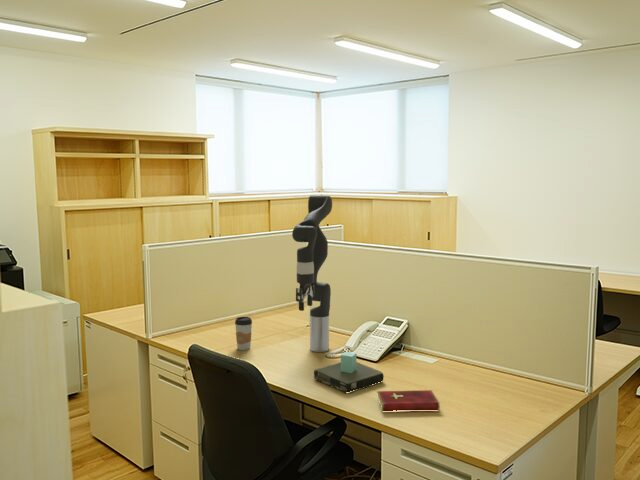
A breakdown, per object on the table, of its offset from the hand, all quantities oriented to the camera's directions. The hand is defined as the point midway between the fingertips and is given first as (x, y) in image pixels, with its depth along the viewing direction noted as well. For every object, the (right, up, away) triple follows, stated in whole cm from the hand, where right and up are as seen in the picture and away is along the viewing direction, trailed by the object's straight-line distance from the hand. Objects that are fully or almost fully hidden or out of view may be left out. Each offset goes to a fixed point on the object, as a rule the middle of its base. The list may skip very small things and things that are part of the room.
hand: (305, 308), depth 252 cm
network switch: (+18, -30, -11) cm, 37 cm away
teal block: (+18, -25, -12) cm, 33 cm away
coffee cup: (-31, -24, +31) cm, 50 cm away
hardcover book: (+39, -33, -37) cm, 63 cm away
